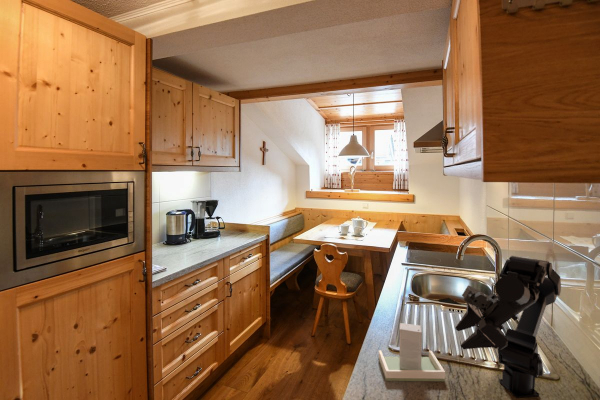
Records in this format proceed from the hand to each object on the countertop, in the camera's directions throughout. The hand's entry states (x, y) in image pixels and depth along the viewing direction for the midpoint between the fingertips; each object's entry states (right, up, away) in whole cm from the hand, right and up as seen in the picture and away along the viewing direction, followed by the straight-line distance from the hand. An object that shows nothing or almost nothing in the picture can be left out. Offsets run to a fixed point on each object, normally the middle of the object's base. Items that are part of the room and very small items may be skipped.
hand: (459, 338), depth 83 cm
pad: (-10, -13, +9) cm, 18 cm away
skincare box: (-10, -12, +9) cm, 18 cm away
